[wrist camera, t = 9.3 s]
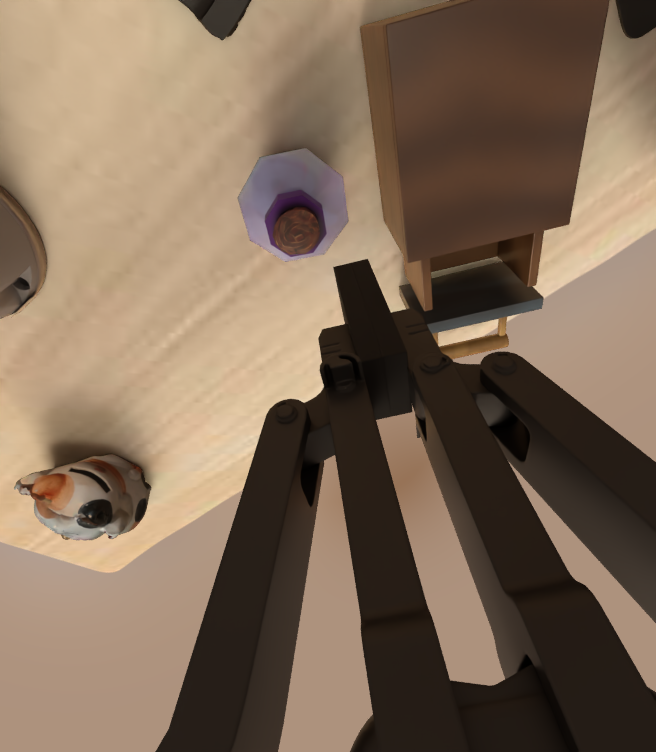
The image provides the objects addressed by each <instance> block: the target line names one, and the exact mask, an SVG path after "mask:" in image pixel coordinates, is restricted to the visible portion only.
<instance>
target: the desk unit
mask: <svg viewBox="0 0 656 752" xmlns="http://www.w3.org/2000/svg"><path fill="white" fill-rule="evenodd" d="M608 6H609V0H450V1H447V2H443V3H440V4H436V5H433V6H429V7H426V8H422V9H419V10H415V11H412V12H408V13H405V14H402V15H398V16H395V17H391V18H388V19H384V20H381V21H377V22H374V23H370V24H367V25H363V26H361V27H360V31H361V39H362V48H363V56H364V64H365V72H366V80H367V88H368V96H369V104H370V112H371V120H372V128H373V136H374V144H375V152H376V160H377V169H378V177H379V185H380V193H381V201H382V209H383V217H384V221H385V223H386V225H387V227H388V229H389V230H390V232H391V234H392V236H393V238H394V239H395V241H396V243H397V245H398V247H399V248H400V250H401V252H402V254H403V256H404V257H405V259H406V261H407V263H412V262H416V261H420V260H424V259H428V258H432V257H437V256H441V255H445V254H449V253H453V252H457V251H461V250H465V249H470V248H474V247H478V246H482V245H486V244H490V243H494V242H499V241H503V240H507V239H511V238H515V237H519V236H523V235H527V234H532V233H536V232H540V231H544V230H548V229H552V228H556V227H561V226H565V225H569V222H570V217H571V211H572V206H573V200H574V195H575V189H576V184H577V178H578V172H579V167H580V161H581V156H582V150H583V145H584V139H585V133H586V128H587V122H588V117H589V111H590V106H591V100H592V95H593V89H594V83H595V78H596V72H597V67H598V61H599V56H600V50H601V45H602V39H603V33H604V28H605V22H606V17H607V11H608Z"/></svg>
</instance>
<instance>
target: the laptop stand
mask: <svg viewBox="0 0 656 752" xmlns="http://www.w3.org/2000/svg"><path fill="white" fill-rule="evenodd" d="M616 4H617V9H618V14H619V18H620V23H621V26H622V29H623V32H624V33H625V35H626V36H627V37H629V38H639V37H641V36H643V35H645V34H646V33H648V32H649V31H651V30H652V29H654V28H655V27H656V0H616Z"/></svg>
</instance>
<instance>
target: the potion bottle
mask: <svg viewBox="0 0 656 752" xmlns="http://www.w3.org/2000/svg"><path fill="white" fill-rule="evenodd" d="M238 201H239V204H240V208H241V211H242V214H243V218H244V221H245V225H246V228H247V231H248V235H249V238H250V241H252V242H254V243H255V244H257V245H259V246H260V247H262V248H264V249H265V250H267V251H268V252H270V253H272V254H273V255H275V256H277V257H278V258H280V259H282V260H283V261H285V262H287V261H292V260H298V259H303V258H308V257H313V256H318V255H324V254H325V253H326V251H327V250H328V249H329V247H330V246H331V244H332V243H333V242H334V240H335V239H336V238H337V236H338V235H339V233H340V232H341V231H342V229H343V228H344V227H345V225H346V224H347V222H348V214H347V206H346V198H345V190H344V182H343V177H342V176H341V175H340V174H339V173H337V172H336V171H335V170H333V169H332V168H331V167H330V166H328V165H327V164H326V163H324V162H323V161H322V160H321V159H319V158H318V157H317V156H315V155H314V154H313V153H312V152H310V151H309V150H308V149H306V148H303V149H298V150H293V151H288V152H283V153H278V154H273V155H268V156H263V157H260V158H259V160H258V161H257V163H256V165H255V167H254V169H253V171H252V172H251V174H250V176H249V178H248V180H247V182H246V183H245V185H244V187H243V189H242V191H241V192H240V194H239V196H238Z"/></svg>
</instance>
